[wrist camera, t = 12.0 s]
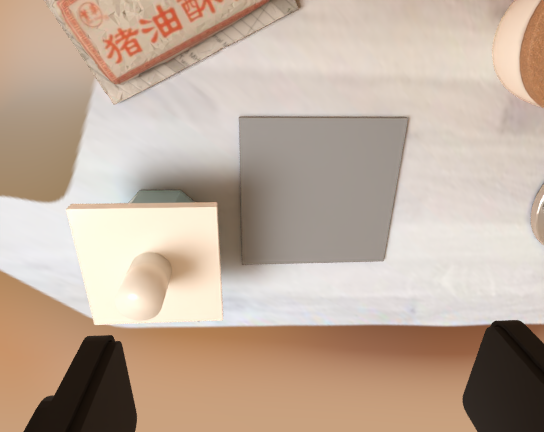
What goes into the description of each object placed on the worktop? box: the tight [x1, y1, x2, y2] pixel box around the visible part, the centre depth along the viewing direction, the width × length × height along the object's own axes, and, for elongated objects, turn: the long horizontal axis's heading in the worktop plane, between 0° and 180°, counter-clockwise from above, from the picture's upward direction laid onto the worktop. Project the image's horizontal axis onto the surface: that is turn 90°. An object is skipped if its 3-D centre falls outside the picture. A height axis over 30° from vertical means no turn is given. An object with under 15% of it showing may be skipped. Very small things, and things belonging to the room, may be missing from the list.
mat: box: [239, 117, 408, 265], centre depth 38 cm, size 16×16×1 cm
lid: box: [66, 202, 223, 325], centre depth 31 cm, size 12×12×6 cm
